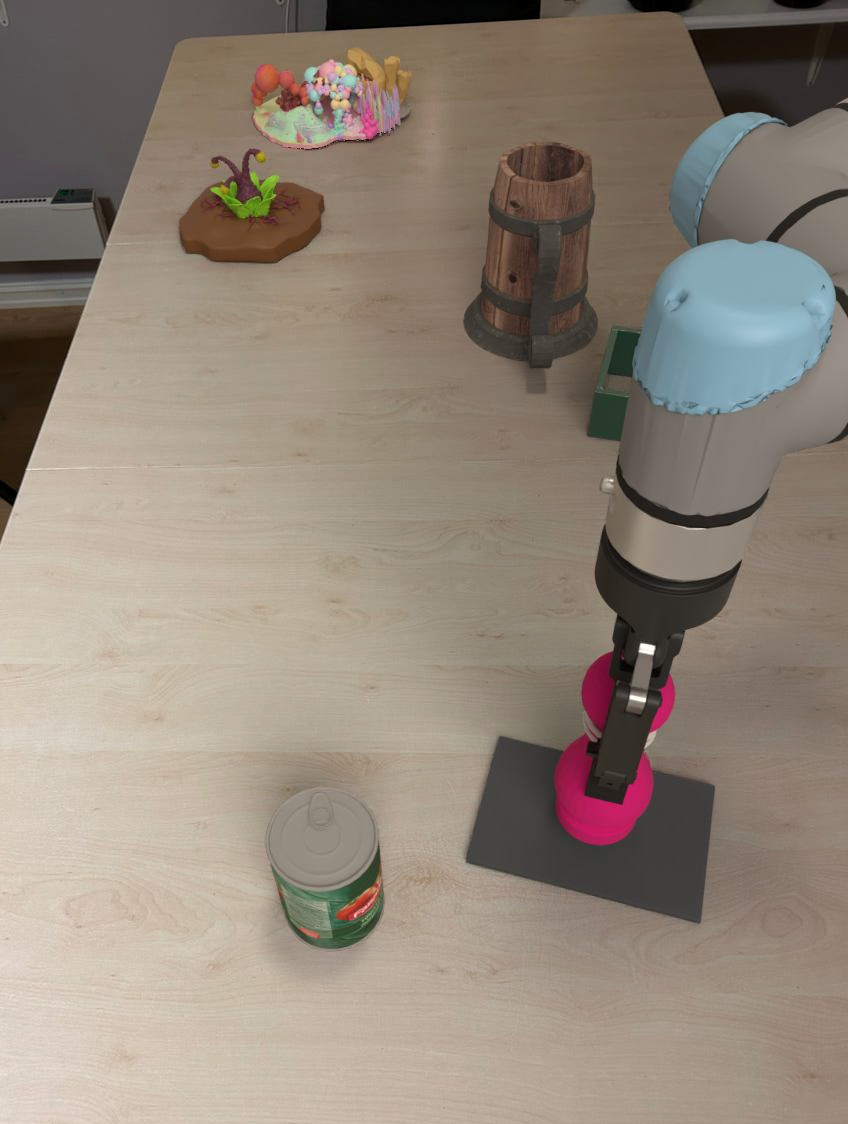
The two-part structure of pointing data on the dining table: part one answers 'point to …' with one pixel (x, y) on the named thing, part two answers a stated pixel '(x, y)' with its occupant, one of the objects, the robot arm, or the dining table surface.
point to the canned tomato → (327, 867)
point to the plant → (251, 216)
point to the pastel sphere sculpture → (331, 101)
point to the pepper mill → (574, 809)
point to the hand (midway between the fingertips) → (610, 761)
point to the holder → (610, 402)
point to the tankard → (537, 257)
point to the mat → (599, 870)
